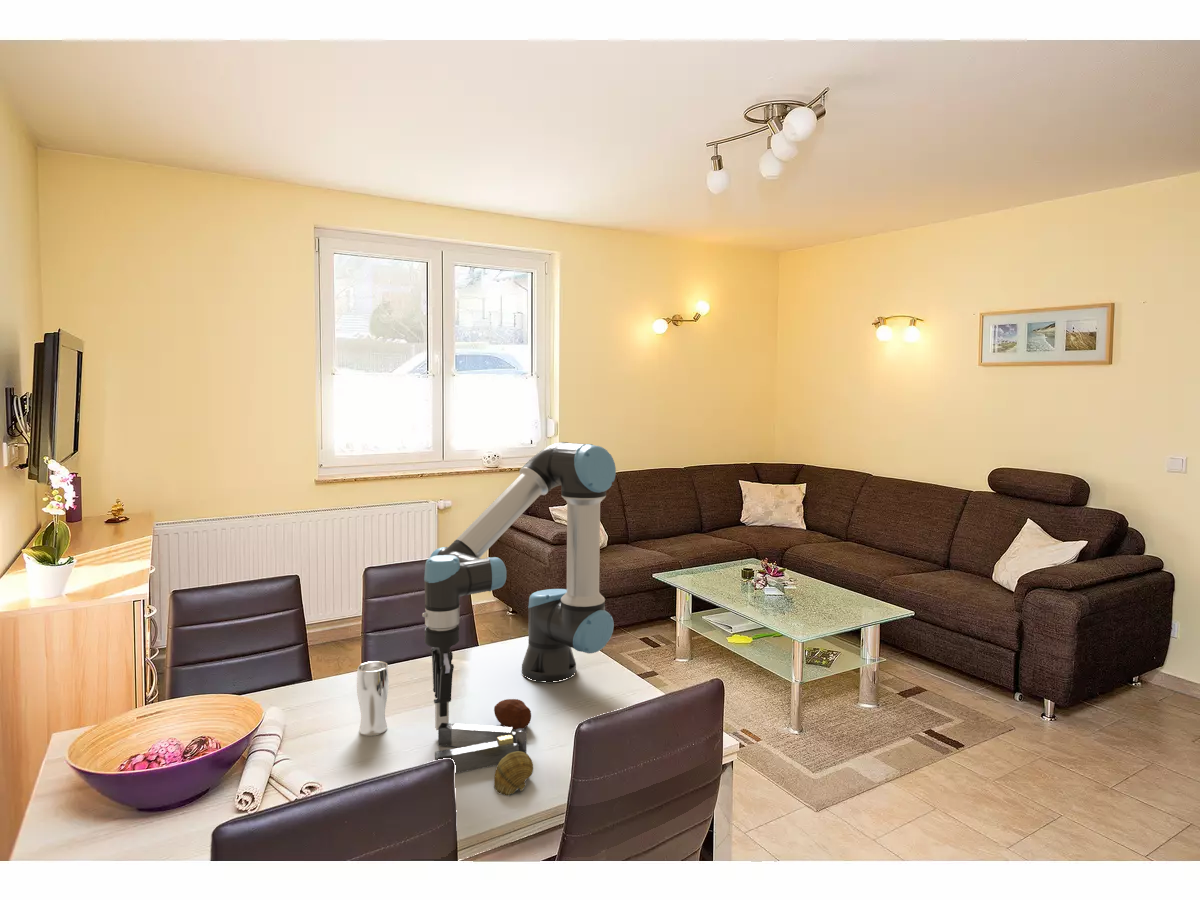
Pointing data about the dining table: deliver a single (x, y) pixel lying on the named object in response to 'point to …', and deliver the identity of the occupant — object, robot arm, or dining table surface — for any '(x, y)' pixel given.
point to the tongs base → (485, 752)
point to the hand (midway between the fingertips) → (441, 727)
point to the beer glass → (372, 696)
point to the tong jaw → (470, 734)
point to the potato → (512, 713)
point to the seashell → (512, 773)
